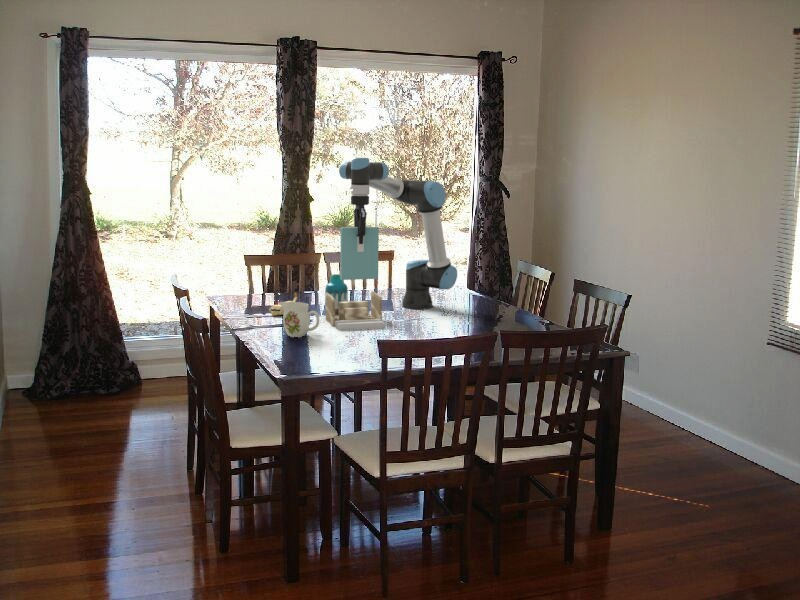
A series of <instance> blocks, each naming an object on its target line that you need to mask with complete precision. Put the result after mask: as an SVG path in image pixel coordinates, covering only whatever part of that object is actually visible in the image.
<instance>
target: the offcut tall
mask: <svg viewBox="0 0 800 600" xmlns="http://www.w3.org/2000/svg"><path fill="white" fill-rule="evenodd" d="M355 307H367V308H368V315H369V311H370V310H369V301H368V300H355V301H354V300H353V301H352V300H351V301H349V300H348V302H339V314H338V317H339V320H344V308H355Z"/></svg>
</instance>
